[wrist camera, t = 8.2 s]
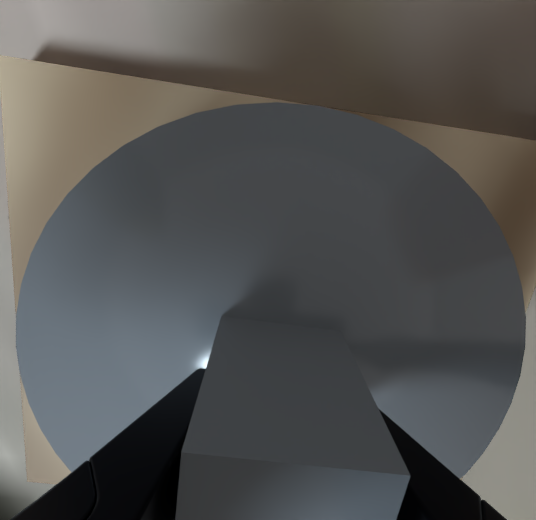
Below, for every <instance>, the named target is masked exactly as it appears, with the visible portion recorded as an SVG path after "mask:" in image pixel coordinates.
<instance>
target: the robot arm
mask: <svg viewBox="0 0 536 520" xmlns="http://www.w3.org/2000/svg"><path fill="white" fill-rule="evenodd" d="M205 370H206V369H204V368H198V369H197V370H196V371H194V372H193V373H192V374H191V375H189V376H188V377H187V378H186V379H185V380H183V381H182V382H181V383H180V384H179V385H177V386H176V387H175V388H174V389H172V390H171V391H170V392H169V393H168V394H166V395H165V396H164V397H163V398H162V399H160V400H159V401H158V402H157V403H155V404H154V405H153V406H152V407H151V408H149V409H148V410H147V411H146V412H145V413H143V414H142V415H141V416H140V417H138V418H137V419H136V420H135V421H134V422H132V423H131V424H130V425H129V426H128V427H126V428H125V429H124V430H123V431H121V432H120V433H119V434H118V435H117V436H115V437H114V438H113V439H112V440H111V441H109V442H108V443H107V444H106V445H104V446H103V447H102V448H101V449H100V450H98V451H97V452H96V453H95V454H94V455H92V456H91V457H90V459H89V461H88V460H87V461H85V462H84V463H82V464H81V465H80V466H79V467H78V468H76V469H75V470H74V471H73V472H71V473H70V474H69V475H68V476H67V477H65V478H64V479H63V480H61V481H60V482H59V483H58V484H56V485H55V486H54V487H53V488H51V489H50V490H49V491H47V492H46V493H45V494H44V495H42V496H41V497H40V498H39V499H37V500H36V501H34V502H33V503H32V504H30V505H29V506H28V507H26V508H25V509H23V510H22V511H21V512H19V513H18V514H17V515H15V516H14V517H12V518H11V519H10V520H175V518H176V507H177V495H178V484H179V473H180V461H181V452H182V448H183V445H184V441H185V438H186V434H187V431H188V428H189V424H190V421H191V417H192V414H193V411H194V407H195V404H196V400H197V397H198V394H199V390H200V387H201V383H202V380H203V377H204V373H205ZM378 409H379V408H378ZM379 411H380V413H381V415H382V417H383V419H384V421H385V424H386V426H387V428H388V430H389V432H390V434H391V436H392V438H393V440H394V442H395V444H396V446H397V448H398V451H399V453H400V455H401V457H402V459H403V461H404V463H405V465H406V467H407V469H408V471H409V473H410V479H409V482H408V485H407V488H406V491H405V495H404V498H403V501H402V504H401V507H400V510H399V513H398V516H397V519H396V520H507V519H506V518H504V517H503V516H502V515H501V514H500V513H499V512H497V511H496V510H495V509H494V508H493V507H492V506H491V505H489V504H488V503H487V502H486V501H485V500H481V498H480V496H479V495H478V494H477V493H475V492H474V491H473V490H472V489H471V488H470V487H469V486H467V485H466V484H465V483H464V482H463V481H462V480H460V479H459V478H458V477H457V476H456V475H455V474H454V473H452V472H451V471H450V470H449V469H448V468H447V467H446V466H444V465H443V464H442V463H441V462H440V461H439V460H437V459H436V458H435V457H434V456H433V455H432V454H431V453H429V452H428V451H427V450H426V449H425V448H424V447H422V446H421V445H420V444H419V443H418V442H417V441H416V440H414V439H413V438H412V437H411V436H410V435H409V434H408V433H406V432H405V431H404V430H403V429H402V428H401V427H399V426H398V425H397V424H396V423H395V422H394V421H393V420H391V419H390V418H389V417H388V416H387V415H386V414H385V413H383V412H382V411H381V410H380V409H379Z"/></svg>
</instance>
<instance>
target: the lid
mask: <svg viewBox="0 0 536 520" xmlns="http://www.w3.org/2000/svg"><path fill="white" fill-rule="evenodd" d="M525 330H526V314H525V306H524V298H523V290H522V285H521V281H520V278H519V274H518V271H517V267H516V264H515V260H514V257H513V254H512V252H511V250H510V248H509V246H508V243H507V241H506V239H505V237H504V235H503V233H502V230H501V228H500V226H499V225H498V223H497V222H496V220H495V219H494V217H493V216H492V214H491V213H490V211H489V210H488V208H487V207H486V205H485V204H484V202H483V201H482V199H481V198H480V197H479V196H478V194H477V193H476V192H475V191H474V190H473V189H472V188H471V187H470V186H469V185H468V184H467V183H466V181H465V180H464V179H463V178H462V177H461V176H460V175H459V174H458V173H457V172H456V171H455V170H454V169H453V168H451V167H450V166H449V165H448V164H446V163H445V162H444V161H443V160H441V159H440V158H439V157H438V156H436V155H435V154H434V153H432V152H431V151H430V150H429V149H427V148H426V147H424V146H422V145H421V144H419V143H417V142H415V141H414V140H412V139H410V138H408V137H407V136H405V135H403V134H401V133H400V132H398V131H396V130H394V129H392V128H390V127H387V126H384V125H382V124H379V123H377V122H374V121H372V120H369V119H367V118H364V117H362V116H359V115H356V114H352V113H347V112H343V111H339V110H334V109H330V108H326V107H322V106H316V105H304V104H292V103H280V102H272V103H255V104H238V105H232V106H227V107H222V108H217V109H212V110H207V111H203V112H198V113H194V114H191V115H189V116H186V117H183V118H180V119H178V120H175V121H172V122H169V123H167V124H164V125H161V126H158V127H156V128H154V129H153V130H151V131H149V132H147V133H145V134H143V135H141V136H140V137H138V138H136V139H134V140H132V141H130V142H128V143H127V144H125V145H123V146H122V147H120V148H119V149H118V150H116V151H115V152H114V153H112V154H111V155H110V156H108V157H107V158H106V159H104V160H103V161H102V162H100V163H99V164H98V165H96V166H95V167H94V168H92V169H91V170H90V171H89V172H88V173H87V174H86V175H85V177H84V178H83V179H82V180H81V181H80V182H79V183H78V184H77V185H76V186H75V187H74V188H73V189H72V190H71V191H70V192H69V193H68V194H67V195H66V196H65V198H64V199H63V201H62V202H61V203H60V205H59V206H58V207H57V209H56V210H55V212H54V213H53V214H52V216H51V217H50V219H49V220H48V221H47V223H46V225H45V227H44V229H43V231H42V233H41V235H40V237H39V238H38V240H37V242H36V244H35V246H34V248H33V250H32V252H31V255H30V258H29V261H28V264H27V267H26V270H25V273H24V277H23V280H22V283H21V288H20V294H19V300H18V306H17V313H16V349H17V356H18V363H19V370H20V376H21V379H22V383H23V386H24V389H25V393H26V396H27V399H28V403H29V405H30V407H31V410H32V412H33V414H34V416H35V418H36V420H37V423H38V425H39V427H40V429H41V431H42V432H43V434H44V436H45V437H46V439H47V440H48V442H49V443H50V445H51V447H52V448H53V450H54V451H55V453H56V454H57V455H58V457H59V458H60V459H61V460H62V462H63V463H64V464H65V465H66V466H67V468H68V469H69V470H70V471H71V472H73V471H74V470H75V469H76V468H78V467H79V466H80V465H81V464H82V463H84V462H85V461H87V460H88V461H89V459H90V457H91V456H92V455H94V454H95V453H96V452H97V451H98V450H100V449H101V448H102V447H103V446H104V445H106V444H107V443H108V442H109V441H111V440H112V439H113V438H114V437H115V436H117V435H118V434H119V433H120V432H121V431H123V430H124V429H125V428H126V427H128V426H129V425H130V424H131V423H132V422H134V421H135V420H136V419H137V418H138V417H140V416H141V415H142V414H143V413H145V412H146V411H147V410H148V409H149V408H151V407H152V406H153V405H154V404H155V403H157V402H158V401H159V400H160V399H162V398H163V397H164V396H165V395H166V394H168V393H169V392H170V391H171V390H172V389H174V388H175V387H176V386H177V385H179V384H180V383H181V382H182V381H183V380H185V379H186V378H187V377H188V376H189V375H191V374H192V373H193V372H194V371H196V370H197V369H198V368H204V369H206V370H205V373H204V377H203V380H202V383H201V387H200V390H199V394H198V397H197V400H196V404H195V407H194V411H193V414H192V417H191V421H190V424H189V428H188V431H187V434H186V438H185V441H184V445H183V448H182V452H181V461H180V473H179V484H178V495H177V507H176V518H175V520H396V519H397V516H398V513H399V510H400V507H401V504H402V501H403V498H404V495H405V491H406V488H407V485H408V482H409V479H410V473H409V471H408V469H407V467H406V465H405V463H404V461H403V459H402V457H401V455H400V453H399V451H398V448H397V446H396V444H395V442H394V440H393V438H392V436H391V434H390V432H389V430H388V428H387V426H386V424H385V421H384V419H383V417H382V415H381V413H380V411H379V409H380V410H381V411H382V412H383V413H385V414H386V415H387V416H388V417H389V418H390V419H391V420H393V421H394V422H395V423H396V424H397V425H398V426H399V427H401V428H402V429H403V430H404V431H405V432H406V433H408V434H409V435H410V436H411V437H412V438H413V439H414V440H416V441H417V442H418V443H419V444H420V445H421V446H422V447H424V448H425V449H426V450H427V451H428V452H429V453H431V454H432V455H433V456H434V457H435V458H436V459H437V460H439V461H440V462H441V463H442V464H443V465H444V466H446V467H447V468H448V469H449V470H450V471H451V472H452V473H454V474H455V475H456V476H457V477H458V478H459V479H461V478H462V477H463V476H464V475H465V474H466V473H467V472H468V470H469V469H470V468H471V467H472V466H473V464H474V463H475V462H476V461H477V460H478V458H479V457H480V456H481V455H482V454H483V452H484V451H485V449H486V448H487V446H488V445H489V443H490V442H491V440H492V439H493V437H494V436H495V434H496V432H497V431H498V429H499V428H500V425H501V423H502V421H503V419H504V417H505V415H506V413H507V411H508V409H509V407H510V405H511V402H512V399H513V396H514V393H515V390H516V387H517V384H518V381H519V377H520V373H521V367H522V362H523V356H524V350H525ZM378 408H379V409H378Z"/></svg>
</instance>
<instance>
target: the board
mask: <svg viewBox="0 0 536 520" xmlns="http://www.w3.org/2000/svg"><path fill="white" fill-rule="evenodd" d="M0 92H1V106H2V121H3V136H4V150H5V165H6V179H7V194H8V208H9V223H10V238H11V252H12V267H13V281H14V296H15V311H16V313H17V306H18V300H19V294H20V288H21V283H22V280H23V277H24V273H25V270H26V267H27V264H28V261H29V258H30V255H31V252H32V250H33V248H34V246H35V244H36V242H37V240H38V238H39V237H40V235H41V233H42V231H43V229H44V227H45V225H46V223H47V221H48V220H49V219H50V217H51V216H52V214H53V213H54V212H55V210H56V209H57V207H58V206H59V205H60V203H61V202H62V201H63V199H64V198H65V196H66V195H67V194H68V193H69V192H70V191H71V190H72V189H73V188H74V187H75V186H76V185H77V184H78V183H79V182H80V181H81V180H82V179H83V178H84V177H85V175H86V174H87V173H88V172H89V171H90V170H91V169H92V168H94V167H95V166H96V165H98V164H99V163H100V162H102V161H103V160H104V159H106V158H107V157H108V156H110V155H111V154H112V153H114V152H115V151H116V150H118V149H119V148H120V147H122V146H123V145H125V144H127V143H128V142H130V141H132V140H134V139H136V138H138V137H140V136H141V135H143V134H145V133H147V132H149V131H151V130H153V129H154V128H156V127H158V126H161V125H164V124H167V123H169V122H172V121H175V120H178V119H180V118H183V117H186V116H189V115H191V114H194V113H198V112H203V111H207V110H212V109H217V108H222V107H227V106H232V105H238V104H255V103H272V102H280V103H292V104H304V103H297V102H291V101H285V100H279V99H272V98H266V97H260V96H253V95H247V94H241V93H235V92H228V91H222V90H216V89H209V88H203V87H197V86H191V85H184V84H178V83H172V82H165V81H159V80H153V79H147V78H140V77H134V76H128V75H121V74H115V73H109V72H103V71H96V70H90V69H84V68H77V67H71V66H65V65H59V64H52V63H46V62H40V61H33V60H27V59H21V58H15V57H8V56H2V55H0ZM304 105H310V104H304ZM322 107H323V106H322ZM326 108H329V107H326ZM330 109H334V110H339V111H343V112H347V113H352V114H356V115H359V116H362V117H364V118H367V119H369V120H372V121H374V122H377V123H379V124H382V125H384V126H387V127H390V128H392V129H394V130H396V131H398V132H400V133H401V134H403V135H405V136H407V137H408V138H410V139H412V140H414V141H415V142H417V143H419V144H421V145H422V146H424V147H426V148H427V149H429V150H430V151H431V152H432V153H434V154H435V155H436V156H438V157H439V158H440V159H441V160H443V161H444V162H445V163H446V164H448V165H449V166H450V167H451V168H453V169H454V170H455V171H456V172H457V173H458V174H459V175H460V176H461V177H462V178H463V179H464V180H465V181H466V183H467V184H468V185H469V186H470V187H471V188H472V189H473V190H474V191H475V192H476V193H477V194H478V196H479V197H480V198H481V199H482V201H483V202H484V204H485V205H486V207H487V208H488V210H489V211H490V213H491V214H492V216H493V217H494V219H495V220H496V222H497V223H498V225H499V226H500V228H501V230H502V233H503V235H504V237H505V239H506V241H507V243H508V246H509V248H510V250H511V252H512V254H513V257H514V260H515V264H516V267H517V271H518V274H519V278H520V281H521V285H522V290H523V298H524V306H525V313H526V310H527V308H528V305H529V302H530V300H531V297H532V294H533V292H534V289H535V287H536V140H530V139H524V138H517V137H511V136H505V135H499V134H492V133H486V132H480V131H473V130H467V129H461V128H455V127H448V126H442V125H436V124H429V123H423V122H417V121H411V120H404V119H398V118H392V117H385V116H379V115H373V114H367V113H360V112H354V111H348V110H341V109H335V108H330ZM20 383H21V398H22V413H23V427H24V442H25V456H26V471H27V482H37V483H47V484H58V483H59V482H60V481H61V480H63V479H64V478H65V477H67V476H68V475H69V474H70V473H71V471H70V470H69V469H68V468H67V466H66V465H65V464H64V463H63V462H62V460H61V459H60V458H59V457H58V455H57V454H56V453H55V451H54V450H53V448H52V447H51V445H50V443H49V442H48V440H47V439H46V437H45V436H44V434H43V432H42V431H41V429H40V427H39V425H38V423H37V420H36V418H35V416H34V414H33V412H32V410H31V407H30V405H29V403H28V399H27V396H26V393H25V389H24V386H23V383H22V379H21V376H20ZM462 478H463V477H462ZM462 478H461V479H460V480H462Z"/></svg>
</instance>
